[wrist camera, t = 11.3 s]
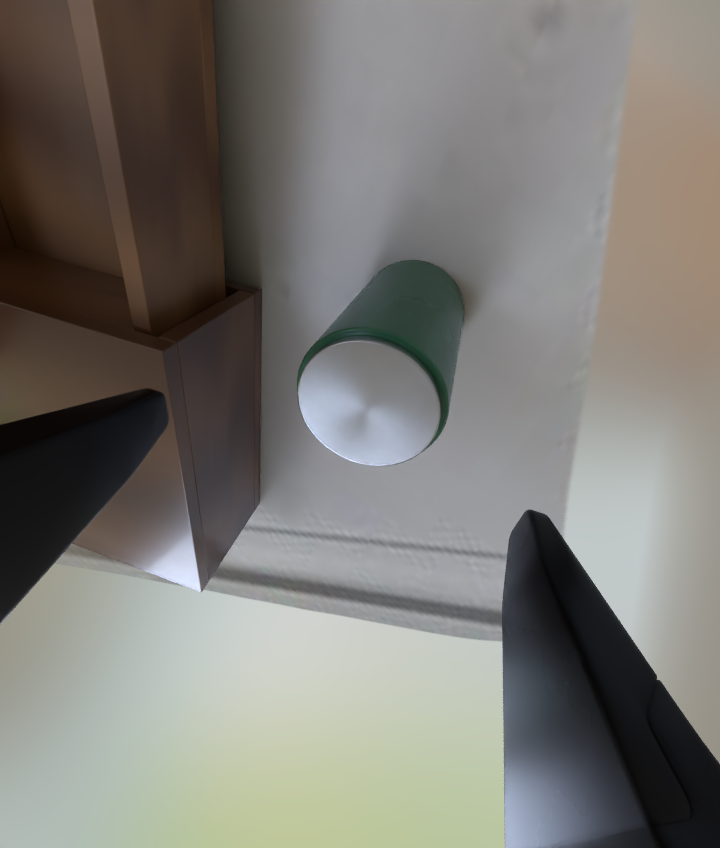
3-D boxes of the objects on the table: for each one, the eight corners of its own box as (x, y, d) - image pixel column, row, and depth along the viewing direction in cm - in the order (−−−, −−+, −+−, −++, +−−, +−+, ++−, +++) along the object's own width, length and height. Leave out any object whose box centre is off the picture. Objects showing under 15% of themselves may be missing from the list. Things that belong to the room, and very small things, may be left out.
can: (347, 330, 20) (273, 425, 13) (390, 238, 17) (322, 300, 10) (429, 376, 20) (398, 493, 13) (486, 294, 17) (482, 390, 10)
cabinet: (16, 221, 21) (-169, 250, 15) (262, 288, 20) (162, 351, 14) (92, 446, 31) (-1, 516, 25) (259, 503, 30) (201, 592, 24)
